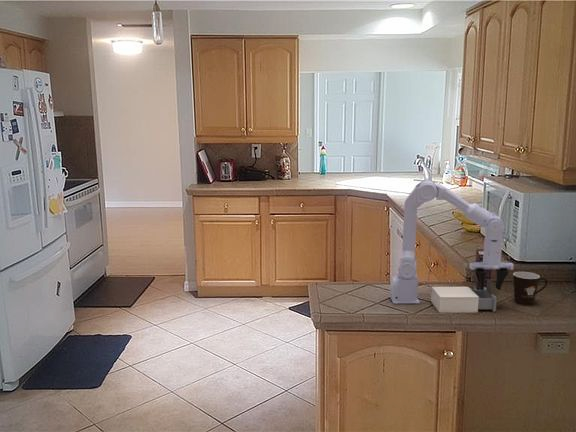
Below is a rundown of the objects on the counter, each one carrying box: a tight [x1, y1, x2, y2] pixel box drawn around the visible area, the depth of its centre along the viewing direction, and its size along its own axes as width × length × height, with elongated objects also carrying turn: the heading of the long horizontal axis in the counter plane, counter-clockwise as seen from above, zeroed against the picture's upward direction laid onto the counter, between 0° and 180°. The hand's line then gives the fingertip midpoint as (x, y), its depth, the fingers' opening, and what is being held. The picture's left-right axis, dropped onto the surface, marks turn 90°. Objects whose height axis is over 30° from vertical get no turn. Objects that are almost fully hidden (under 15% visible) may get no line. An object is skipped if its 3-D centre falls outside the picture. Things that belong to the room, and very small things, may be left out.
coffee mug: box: [512, 271, 548, 306], centre depth 194 cm, size 12×9×10 cm
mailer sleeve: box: [430, 286, 479, 314], centre depth 190 cm, size 13×11×6 cm
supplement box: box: [473, 248, 492, 290], centre depth 204 cm, size 9×5×16 cm, turn 168°
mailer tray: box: [471, 279, 497, 312], centre depth 190 cm, size 13×11×9 cm
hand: (489, 289), depth 189 cm, fingers open, 5 cm apart
